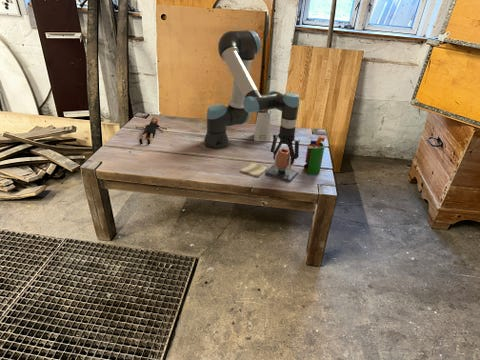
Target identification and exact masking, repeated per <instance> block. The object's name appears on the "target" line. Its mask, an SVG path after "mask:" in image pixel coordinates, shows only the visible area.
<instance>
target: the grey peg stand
mask: <svg viewBox="0 0 480 360" xmlns="http://www.w3.org/2000/svg"><path fill="white" fill-rule="evenodd" d="M285 153H286V152H285ZM264 174H265V175H266V176H270V177H272V178H274V179H275V178H276V179H279V180H282V181H285V182H288V183H291V182H292V180H293V179H294V178H295V177H296V176H297V175H298V174H299V170H297V169H293V168H291V169H290V170H288V167H287V168H286V169H285V170H284V169H281V168H278V167H276V166H274V164H272V165H271V166H270V167H268V169H267V170H266V171H265V172H264Z"/></svg>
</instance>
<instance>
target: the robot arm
mask: <svg viewBox="0 0 480 360" xmlns="http://www.w3.org/2000/svg"><path fill="white" fill-rule="evenodd" d="M217 44H218V45H217V51H218V54H219V57H220V59H221V61H222V62H224V63H225V64H226V66H227V68H228V70H229V72H230V73H231V76H232V77H233V80H232V81H233V82H232V89H231V98H230V100H228V102H227V103H228V104H227V106H226V105H225V104H213V105H211V106H209V107H208V108H207V111H206V134H205V136H204V138H203V139H204V142H203V144H204V146H205V147H207V148H208V149H214V150H215V149H216V150H217V149H218V150H221V149H224V148H227V147H228V146H229V145H230V141H229V137H228V133H227V128H228V127H233V126H238V125H243V124H246V123H248V122H249V119H250V118H251V114H252V113H258V112H259V113H260V112H263V111H270V110H278V111H280V112H281V115H280V126H279V133H274V134H273V135H272V138H273V139H272V143H271V147H270V153H272V154H273V156H272V157H273V160H274V162H273V165H274V166H276V165H277V157H278V151H279V150H280V149H281V148H282V145H284V144H285V145H287V147H288V150H289V152H290V159H289V165H288V167H287V168H288V170H290V169H292V165H294V163H295V160H298V158H299V154H300V152H299V150H300V149H299V146H300V142H301V140H300V139H297V138H296V137H295V133H296V126H297V121H298V120H297V119H298V114H299V113H298V112H299V107H300V100H301V99H300V95H299V94H298V93H295V92H286V93H284V94H283V93H281V92H280V91H276V90H270V91H269V92H267V94H261V93H260V92H259V90H258V88H257V86H256V84H255V82H254V80H253V78H252V77H251V73H250V71H251V67H252V66H251V64H252V62H253V61H254V60H255V56H256V55H257V54H259V52H260V51H261V46H262V45H261V38H260V36H259V35H258V33H257V32H256V31H254V30H248V29H247V30H246V29H245V30H229V31H226V32H225V33H223V34H222V36H221V37H220V39H219V41H218V43H217ZM278 139H279V142H278V144H277V141H278ZM293 142H294V143H293ZM293 144H294V147H293ZM276 145H277V146H276Z"/></svg>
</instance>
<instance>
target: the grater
mask: <svg viewBox="0 0 480 360" xmlns="http://www.w3.org/2000/svg"><path fill="white" fill-rule="evenodd" d="M271 110H272V109H271ZM271 110H269V112H260V111H259V112H257V116H256V117H257V118H256V123H255V128H254V133H253V140H254V142H270V143H271V135H272V134H271Z"/></svg>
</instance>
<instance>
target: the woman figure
mask: <svg viewBox="0 0 480 360" xmlns="http://www.w3.org/2000/svg"><path fill="white" fill-rule="evenodd" d="M144 127H147V128H144ZM157 127H160V128H162V129H161V130H167V127H166V126H164V127H163V126H161V125H159V119H158V118H156V117H152V118H151V119H150V122H149V124H147V125H145V126H135V127H134V128H135V130H137V129H141V128H144V130H143V133H142V138H139V141H138V142H139V145H141V144H142V145H143V143H144V142H145V140H146V137H147V136H148V134H150V135H149V138H148V139H147V145H148V144H150V145H151V142H152V141H153V134H154V135H155V136H156V132H157ZM160 128H159V129H160ZM149 132H150V133H149ZM143 135H144V136H143ZM143 141H144V142H143Z"/></svg>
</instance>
